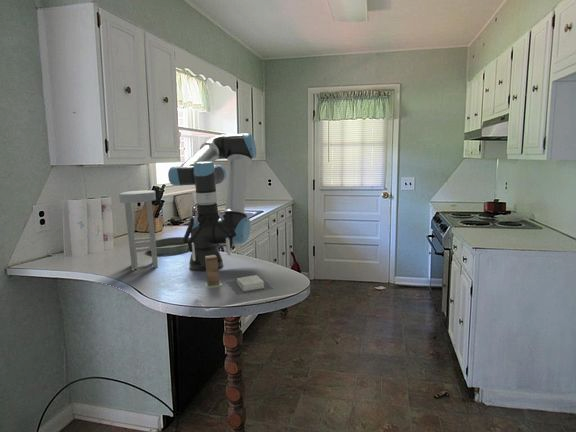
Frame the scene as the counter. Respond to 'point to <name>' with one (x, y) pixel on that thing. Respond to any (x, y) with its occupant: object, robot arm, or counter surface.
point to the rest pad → (212, 286)
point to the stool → (128, 199)
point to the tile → (250, 283)
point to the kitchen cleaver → (226, 246)
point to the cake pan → (171, 245)
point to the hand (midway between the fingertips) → (211, 257)
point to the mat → (240, 291)
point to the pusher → (212, 270)
